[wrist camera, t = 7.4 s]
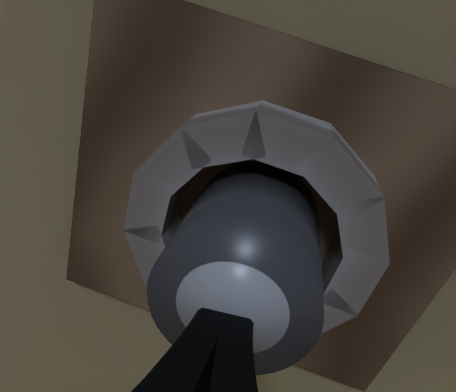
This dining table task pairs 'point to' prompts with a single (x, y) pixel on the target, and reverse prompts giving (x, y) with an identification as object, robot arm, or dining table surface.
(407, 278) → the collar
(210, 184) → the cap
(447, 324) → the dining table surface
